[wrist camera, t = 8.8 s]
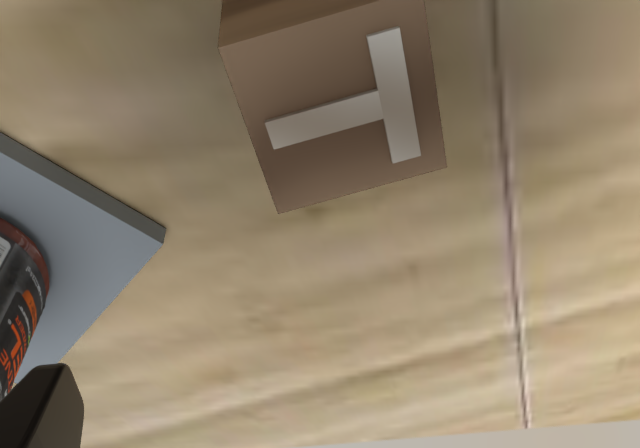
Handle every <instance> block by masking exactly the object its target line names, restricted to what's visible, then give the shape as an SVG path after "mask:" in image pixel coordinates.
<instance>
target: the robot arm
mask: <svg viewBox="0 0 640 448" xmlns="http://www.w3.org/2000/svg"><path fill="white" fill-rule="evenodd" d="M83 419H84V404H83V400H82V397H81V394H80V392H79V389H78V387H77V384H76V382H75V379H74V377H73V374H72V372H71V370H70V368H69V366H68V365H66V364H64V363H57V364H46V365H39V366H36V367H34V368H33V369H31V370H30V371H29V372H28V373H27V374H26V375H25V376H24V377H23V378H22V379H21V380H20V381H19V383H18V384H17V385H16V386H15V387H14V388H13V389H12V390H11V391H10V392H9V393H8V394H7V395H6V396H5V397H4V398H3V399H2V400H1V401H0V448H80V444H81V436H82V427H83Z"/></svg>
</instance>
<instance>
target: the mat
mask: <svg viewBox="0 0 640 448" xmlns="http://www.w3.org/2000/svg"><path fill="white" fill-rule="evenodd" d="M0 218H2V219H4V220H6V221H7V222H9V223H10V224H12V225H13V226H15V227H16V228H18V229H19V230H21V231H22V232H23V233H24V234H25V235H26V236H27V237H29V238H30V239H31V240H32V241H33V242H34V243H35V244H36V246H37V249H38V250H39V251H40V253H41V254H42V256H43V258H44V261H45V263H46V265H47V269H48V273H49V292H48V295H47V298H46V302H45V308H44V310H43V312H42V315H41V316H40V319H39V322H38V325H37V326H36V329H35V332H34V334H33V337H32V338H31V341H30V343H29V347H28V349H27V352H26V354H25V357H24V359H23V361H22V364H21V366H20V368H19V371H18V373H17V375H16V377H15V380H14V383H17V384H18V383H19V381H20V380H21V379H22V378H23V377H24V376H25V375H26V374H27V373H28V372H29V371H30V370H31V369H33V368H34V367H36V366H39V365H46V364H57V363H58V362H59V361H60V359H61V358H62V357H63V356H64V355H65V354H66V353H67V352H68V351H69V349H70V348H71V347H72V346H73V345H74V344H75V343H76V342H77V340H78V339H79V338H80V337H81V336H82V335H83V334H84V333H85V331H86V330H87V329H88V328H89V327H90V326H91V325H92V324H93V322H94V321H95V320H96V319H97V318H98V317H99V316H100V315H101V313H102V312H103V311H104V310H105V309H106V308H107V307H108V306H109V304H110V303H111V302H112V301H113V300H114V299H115V298H116V297H117V295H118V294H119V293H120V292H121V291H122V290H123V289H124V288H125V287H126V285H127V284H128V283H129V282H130V281H131V280H132V279H133V278H134V276H135V275H136V274H137V273H138V272H139V271H140V270H141V269H142V267H143V266H144V265H145V264H146V263H147V262H148V261H149V260H150V258H151V257H152V256H153V255H154V254H155V253H156V252H157V251H158V249H159V248H160V247H161V246H162V245H163V243H164V237H165V232H166V228H164V227H162V226H161V225H159V224H157V223H155V222H154V221H152V220H150V219H149V218H147V217H145V216H143V215H142V214H140V213H138V212H136V211H135V210H133V209H131V208H130V207H128V206H126V205H124V204H123V203H121V202H119V201H118V200H116V199H114V198H112V197H111V196H109V195H107V194H105V193H104V192H102V191H100V190H99V189H97V188H95V187H93V186H92V185H90V184H88V183H86V182H85V181H83V180H81V179H80V178H78V177H76V176H74V175H73V174H71V173H69V172H68V171H66V170H64V169H62V168H61V167H59V166H57V165H55V164H54V163H52V162H50V161H49V160H47V159H45V158H43V157H42V156H40V155H38V154H37V153H35V152H33V151H31V150H30V149H28V148H26V147H24V146H23V145H21V144H19V143H18V142H16V141H14V140H12V139H11V138H9V137H7V136H5V135H4V134H2V133H0Z"/></svg>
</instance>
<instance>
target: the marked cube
mask: <svg viewBox="0 0 640 448" xmlns="http://www.w3.org/2000/svg"><path fill="white" fill-rule="evenodd" d="M218 50H219V53H220V55H221V58H222V61H223V64H224V66H225V69H226V72H227V75H228V77H229V80H230V83H231V86H232V88H233V91H234V94H235V97H236V99H237V102H238V105H239V108H240V110H241V113H242V116H243V119H244V121H245V124H246V127H247V130H248V133H249V135H250V138H251V141H252V144H253V146H254V149H255V152H256V155H257V157H258V160H259V163H260V166H261V168H262V171H263V174H264V177H265V179H266V182H267V185H268V188H269V190H270V193H271V196H272V199H273V201H274V204H275V207H276V210H277V212H278V214H280V213H284V212H287V211H291V210H294V209H298V208H302V207H305V206H309V205H313V204H316V203H320V202H323V201H327V200H331V199H334V198H338V197H341V196H345V195H349V194H352V193H356V192H360V191H363V190H367V189H370V188H374V187H378V186H381V185H385V184H388V183H392V182H396V181H399V180H403V179H407V178H410V177H414V176H417V175H421V174H425V173H428V172H432V171H435V170H439V169H443V168H446V167H447V163H446V156H445V148H444V141H443V134H442V127H441V119H440V112H439V105H438V98H437V91H436V83H435V76H434V69H433V62H432V54H431V47H430V40H429V33H428V25H427V18H426V11H425V4H424V0H223V2H222V12H221V22H220V32H219V41H218Z"/></svg>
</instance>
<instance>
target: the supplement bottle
mask: <svg viewBox="0 0 640 448" xmlns="http://www.w3.org/2000/svg"><path fill="white" fill-rule="evenodd" d="M48 292H49V273H48V269H47V265H46V263H45V261H44V258H43V256H42V254H41V253H40V251H39V250H38V249H37V246H36V244H35V243H34V242H33V241H32V240H31V239H30V238H29V237H27V236H26V235H25V234H24V233H23V232H22V231H21V230H19V229H18V228H16V227H15V226H13V225H12V224H10V223H9V222H7V221H6V220H4V219H2V218H0V401H1V400H2V399H3V398H4V397H5V396H6V395H7V394H8V393H9V392H10V391H11V388H12V385H13V382H14V380H15V377H16V375H17V373H18V371H19V368H20V366H21V364H22V361H23V359H24V357H25V354H26V352H27V349H28V347H29V343H30V341H31V338H32V337H33V334H34V332H35V329H36V326H37V325H38V322H39V319H40V316H41V315H42V312H43V310H44V308H45V302H46V298H47V295H48Z"/></svg>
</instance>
